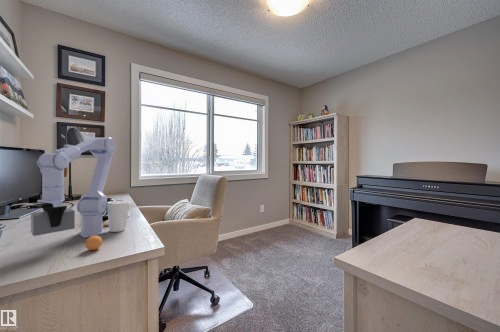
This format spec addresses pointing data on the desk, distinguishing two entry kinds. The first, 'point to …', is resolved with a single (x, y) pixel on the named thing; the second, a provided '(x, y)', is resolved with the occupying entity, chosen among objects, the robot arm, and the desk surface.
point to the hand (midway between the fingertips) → (53, 224)
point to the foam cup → (118, 215)
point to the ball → (93, 242)
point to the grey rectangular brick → (42, 222)
